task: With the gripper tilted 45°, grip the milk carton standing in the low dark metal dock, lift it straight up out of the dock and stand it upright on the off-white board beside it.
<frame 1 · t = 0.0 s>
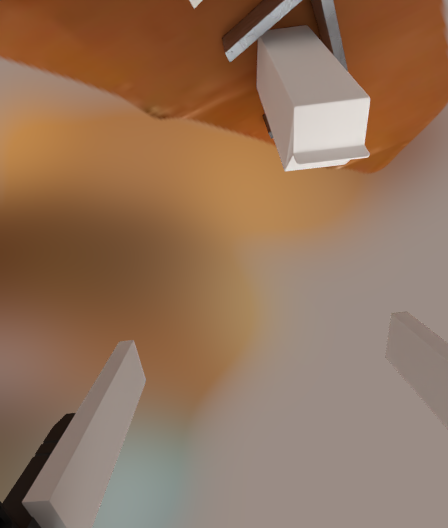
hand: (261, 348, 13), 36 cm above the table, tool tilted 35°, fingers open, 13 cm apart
dock: (279, 58, 32), on the table
milk: (279, 57, 32), on the table
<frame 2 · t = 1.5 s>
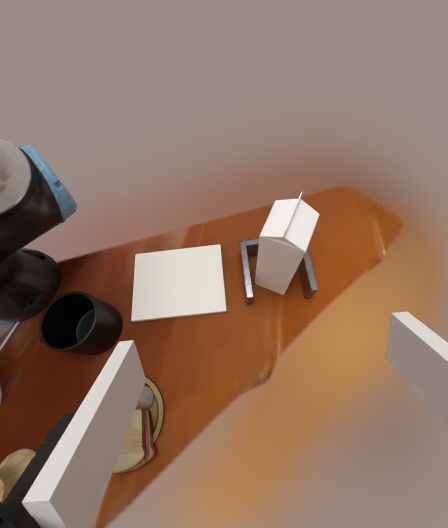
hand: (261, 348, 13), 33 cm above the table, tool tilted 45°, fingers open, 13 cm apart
hand bell: (19, 479, 39), on the table
dock: (274, 276, 49), on the table
toy sandwich meal: (131, 417, 41), on the table
mug: (93, 331, 47), on the table
milk: (274, 276, 49), on the table
board: (179, 282, 50), on the table
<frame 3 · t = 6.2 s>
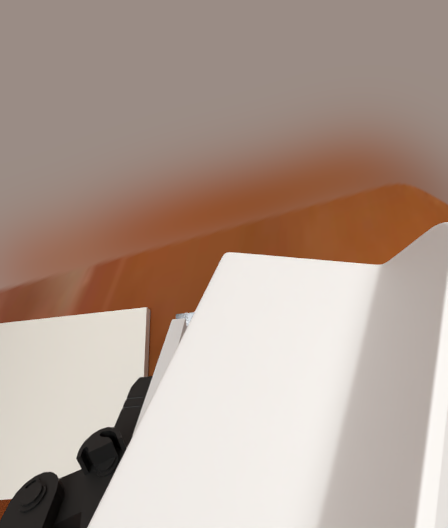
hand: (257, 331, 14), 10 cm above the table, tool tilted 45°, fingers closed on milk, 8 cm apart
milk: (258, 387, 22), on the table, touching gripper
board: (52, 394, 23), on the table
when the fingers open (12 cm above the table, at t = 13.4 s): milk stays where it is, resting on board.
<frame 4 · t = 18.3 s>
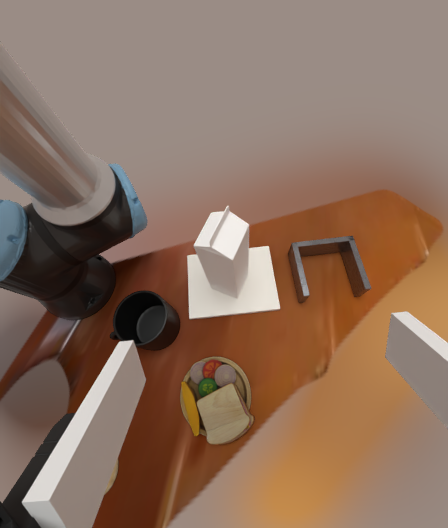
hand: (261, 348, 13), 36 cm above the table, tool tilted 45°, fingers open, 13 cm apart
dock: (322, 276, 51), on the table
toy sandwich meal: (219, 396, 44), on the table
mug: (151, 328, 50), on the table
milk: (230, 281, 51), point 1 cm above the table, touching board
board: (231, 282, 52), on the table
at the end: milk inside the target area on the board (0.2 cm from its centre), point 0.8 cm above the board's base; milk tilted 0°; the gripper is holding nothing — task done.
